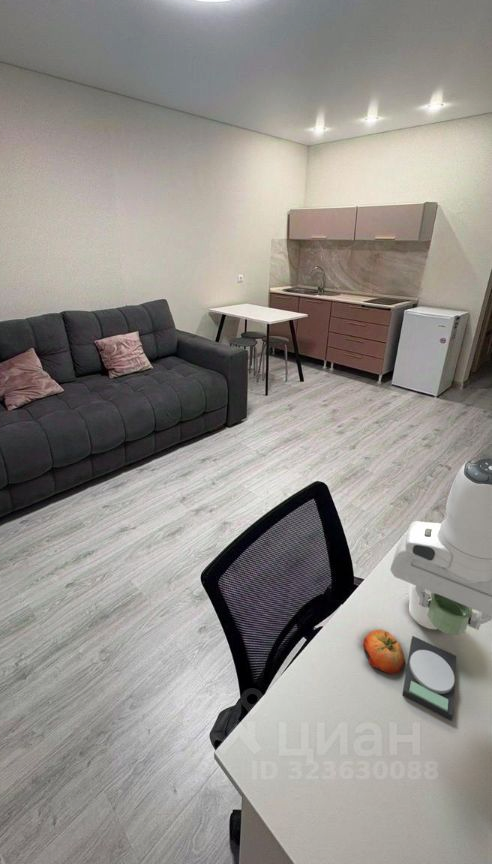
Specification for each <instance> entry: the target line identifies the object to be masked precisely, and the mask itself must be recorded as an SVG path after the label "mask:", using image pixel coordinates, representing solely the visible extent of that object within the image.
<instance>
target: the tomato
mask: <svg viewBox="0 0 492 864" xmlns="http://www.w3.org/2000/svg"><path fill="white" fill-rule="evenodd" d="M363 638H364V639H363V642H362V647H363V648H364V650H365V651H366V652H367V653H368V654H365V656H366V657H368V655H369V657H368V664H369V666H371V667H373V668H376V669H378V670H380V671H382V672H384V673H385V674H389V675H397V674H399V673H400V672H401V671H402V670H403V669H404V667H405V662H406V661H405V654H404V651H403V648H402V647H401V644H400V643H399V641H397V639H396V638H395V637H393V635H392V634H391V633H390V632H388V631H387V630H383V629H375V630H372V631H370V632H369V633H368V634H367V635H366V636H364V637H363Z"/></svg>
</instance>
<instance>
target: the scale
mask: <svg viewBox="0 0 492 864" xmlns="http://www.w3.org/2000/svg"><path fill="white" fill-rule="evenodd" d="M407 657H408V658H407V663H406V670H405V676H404V682H403V688H402V694H401V695H402V696H403V697H404V698H406V699H409V700H410V701H412V702H414V703H416V704H418V705H420V706H422V707H423V708H425V709H428V710H429V711H431V712H433V713H435V714H436V715H438V716H441V717H443V718H444V719H446V720H447V721H450V722H452V720H453V718H454V709H455V707H454V706H455V687H456V667H457V655H456V654H454V653H451V652H449V651H448V650H445V649H442V648H440V647H438V646H436V645H434V644H431V643H430V642H427V641H426V640H423V639H421V638H418V637H416V636H414V635H412V636H411V639H410V646H409V651H408V656H407Z"/></svg>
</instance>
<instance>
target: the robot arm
mask: <svg viewBox="0 0 492 864" xmlns="http://www.w3.org/2000/svg"><path fill="white" fill-rule="evenodd" d="M445 511H446V515H445V517H444V518H443V520H442V521H441V522H429V521H420V520H419V521H418V520H414V521H412V522H411V523H410V525H409V527H408V530H407V533H406V534H405V535H403V537H401V539H400V541H399V543H398V545H397V547H396V550H395V552H394V555H393V558H392V562H391V566H390V570H389V571H390V573H391V574H392V575H393V577H394V578H396V579H399V580H402V581H404V582H406V583H409V584H410V583H411V584H413V585H416V587H415V589H416V591H417V594H418V596H419V605H421V606H423V607H426V608H428V604H429V600H430V599H429V598H430V594H428V593H425V589H426V590H428V591H430V592H433V593H435V594H438V595H440V596H443V597H445V598H448V599H450V600H452V601H455V602H457V603H460V604H462V605H465V606H467V607H469V608H472V610H474V611H477V613H476V612H473V611H472V614H471V617H470V620H469V623H468V626H467V627H470V628H472V629H475V630H477V631H479V630H480V627H481V625H483V624H486V623H488V622H491V621H492V456H486V455H485V456H475V457H472V458H470V459H468V460H466V461H465V462H464V463H463V465H462V466H461V467H460V468H459V470H458V471H457V474H456V475H455V477H454V480H453V482H452V484H451V487H450V490H449V494H448V497H447V499H446V505H445Z"/></svg>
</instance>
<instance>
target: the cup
mask: <svg viewBox="0 0 492 864" xmlns="http://www.w3.org/2000/svg"><path fill="white" fill-rule="evenodd" d="M409 584H410V585H409V586H410V587H409V607H408V610H409V614H410V616H411V617H412V619H413V620H415V622H416V623H417V624H419V625H420V626H421V627H424V628H426V629H430V630H438V629H437V628H436V627H435V626H434V625H433V624H432V623H431V621H430V619H429V618H428V616H427V610H426V609H427V608H426V607H423V606H421V605H419V596H418V594H417V591H416V589H415V587H416V585H413V584H411V583H409ZM425 593H428V594H431V592H430V591H428V590H426V589H425Z"/></svg>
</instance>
